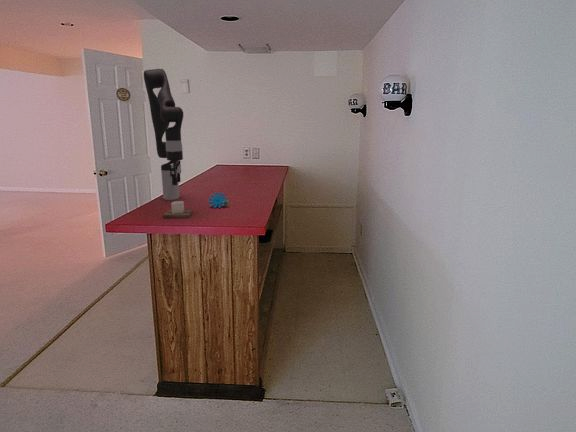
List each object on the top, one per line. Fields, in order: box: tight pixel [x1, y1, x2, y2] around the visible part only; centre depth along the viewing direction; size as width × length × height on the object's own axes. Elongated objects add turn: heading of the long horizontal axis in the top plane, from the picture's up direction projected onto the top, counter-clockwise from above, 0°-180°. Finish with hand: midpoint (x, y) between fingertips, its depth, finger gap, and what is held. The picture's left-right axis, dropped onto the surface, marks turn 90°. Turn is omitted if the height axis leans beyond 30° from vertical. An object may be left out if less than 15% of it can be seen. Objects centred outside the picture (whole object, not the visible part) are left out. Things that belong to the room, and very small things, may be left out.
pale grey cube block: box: [170, 200, 185, 214], centre depth 202 cm, size 5×5×5 cm
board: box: [162, 208, 193, 219], centre depth 202 cm, size 12×12×5 cm
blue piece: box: [208, 192, 230, 209], centre depth 221 cm, size 11×6×10 cm
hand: (176, 183), depth 199 cm, fingers open, 8 cm apart
